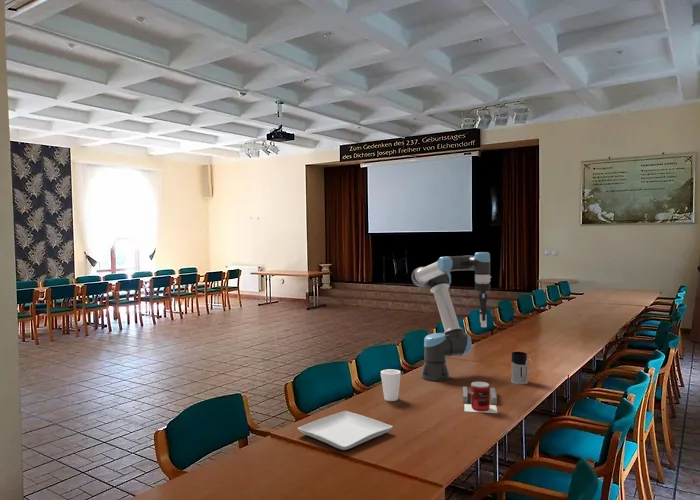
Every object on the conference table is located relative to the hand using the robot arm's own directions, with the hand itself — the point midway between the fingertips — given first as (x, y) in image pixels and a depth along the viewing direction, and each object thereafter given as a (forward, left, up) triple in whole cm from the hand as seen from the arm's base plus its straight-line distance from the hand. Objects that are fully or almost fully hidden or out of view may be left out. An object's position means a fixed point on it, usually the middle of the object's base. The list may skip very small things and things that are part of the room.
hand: (483, 324), depth 264 cm
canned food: (-3, -34, -32) cm, 47 cm away
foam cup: (-44, -26, -32) cm, 60 cm away
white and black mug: (+20, +10, -32) cm, 39 cm away
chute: (-3, -25, -32) cm, 40 cm away
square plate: (-56, -73, -32) cm, 98 cm away
